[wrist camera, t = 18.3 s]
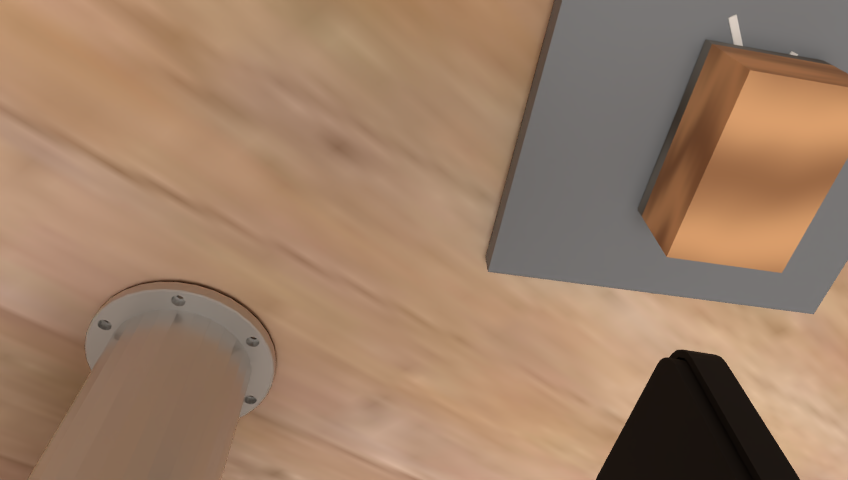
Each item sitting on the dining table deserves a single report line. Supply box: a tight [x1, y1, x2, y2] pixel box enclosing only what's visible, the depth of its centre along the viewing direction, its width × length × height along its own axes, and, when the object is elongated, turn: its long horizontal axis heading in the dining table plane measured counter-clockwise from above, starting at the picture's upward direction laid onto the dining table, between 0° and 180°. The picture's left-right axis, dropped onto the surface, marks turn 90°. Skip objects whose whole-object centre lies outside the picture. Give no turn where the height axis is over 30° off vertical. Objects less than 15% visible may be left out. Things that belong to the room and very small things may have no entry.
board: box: [486, 0, 848, 314], centre depth 36 cm, size 22×22×2 cm
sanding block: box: [638, 40, 848, 273], centre depth 33 cm, size 10×6×5 cm, turn 170°
